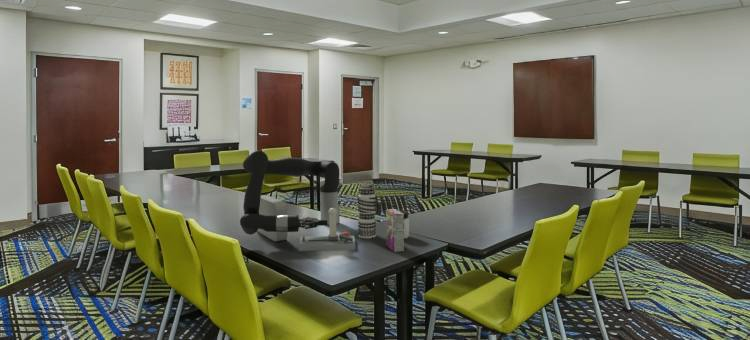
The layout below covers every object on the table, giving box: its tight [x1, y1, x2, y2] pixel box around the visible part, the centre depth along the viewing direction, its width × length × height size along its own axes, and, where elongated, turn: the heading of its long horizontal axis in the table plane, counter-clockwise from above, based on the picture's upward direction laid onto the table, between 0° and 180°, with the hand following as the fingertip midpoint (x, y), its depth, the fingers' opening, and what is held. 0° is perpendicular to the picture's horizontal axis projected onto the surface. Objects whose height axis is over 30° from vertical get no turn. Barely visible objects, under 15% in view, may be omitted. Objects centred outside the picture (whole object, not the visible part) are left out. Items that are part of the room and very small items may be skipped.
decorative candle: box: [357, 183, 377, 239], centre depth 223 cm, size 9×9×25 cm
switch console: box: [298, 235, 356, 252], centre depth 208 cm, size 24×14×4 cm, turn 94°
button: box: [341, 231, 351, 237], centre depth 212 cm, size 4×4×2 cm
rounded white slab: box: [257, 194, 288, 243], centre depth 226 cm, size 29×8×18 cm, turn 34°
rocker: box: [338, 233, 353, 241], centre depth 204 cm, size 6×4×2 cm, turn 95°
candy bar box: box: [385, 208, 405, 253], centre depth 202 cm, size 11×5×16 cm, turn 17°
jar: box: [397, 209, 410, 240], centre depth 222 cm, size 9×8×12 cm
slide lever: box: [327, 208, 339, 241], centre depth 207 cm, size 4×4×14 cm
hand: (327, 222), depth 207 cm, fingers closed
